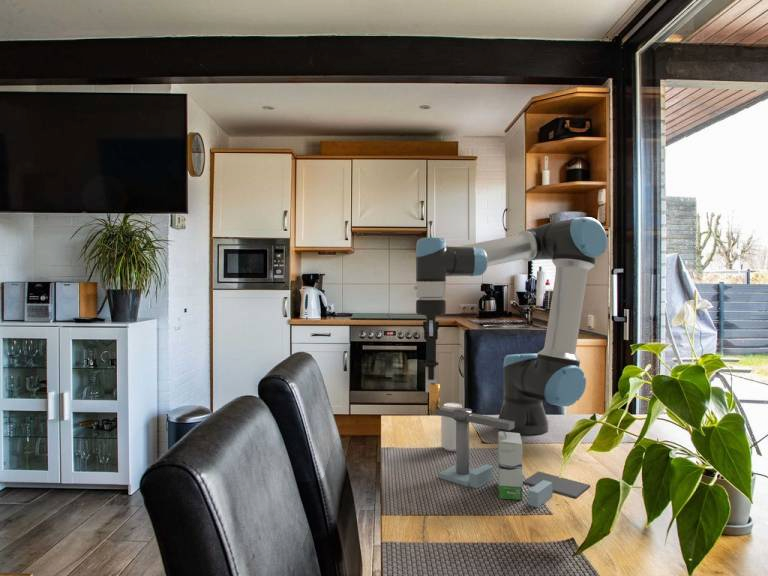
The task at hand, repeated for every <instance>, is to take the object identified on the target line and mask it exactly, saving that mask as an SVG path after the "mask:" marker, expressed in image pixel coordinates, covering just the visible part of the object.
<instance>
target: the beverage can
mask: <svg viewBox="0 0 768 576" xmlns="http://www.w3.org/2000/svg"><path fill="white" fill-rule="evenodd" d="M462 406H463V404H461V403H458V402H447V403H444V404H443V407H442V408H447V409H452V410H453V409H455V408H463V407H462ZM440 420H441V421H440V422H441V425H440V429H441V430H440V432H441V437H440V438H441V440H440V442H441V447H442V448H443V449H444V450H445V451H449V452H456V420H454V419H453V418H450V417H445V416H441V418H440Z"/></svg>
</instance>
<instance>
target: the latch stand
mask: <svg viewBox="0 0 768 576" xmlns="http://www.w3.org/2000/svg"><path fill="white" fill-rule="evenodd" d="M455 461H456V463H455V464H454V465H453V466H451V467H448V468H447V469H444V470H442V471H440V472H438V476H437V477H438V478H439V479H442V480H445V481H448V482H452V483H454V484H457V485H460V486H465V487H468V488H469V487H471V488H474V489H479V488H481V487H482V486H484V485H486V484H488V483H490V482H491V481H493V480H494V465H490V464H487V463H486V464H483V465H481V466H480V467H477V468H474V467H470V422H467V421H456V451H455ZM553 496H554V492H553V482H549V481H545V480H543V481H541V482H540V483H538V484H537V485H535V486H531V488H529V489H528V499H527V500H528V506H531V507H534V508H540V507H541V506H542V505H544V504H545V503H546V502H547V501H549V500H550V499H551V498H553Z"/></svg>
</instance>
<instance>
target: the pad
mask: <svg viewBox="0 0 768 576" xmlns="http://www.w3.org/2000/svg"><path fill="white" fill-rule="evenodd" d="M559 477H561V478H559ZM543 480H545V481H549V482H553V493H557V494H560V495H563V496H566V497H570V498H574V499H578V497H579V496H581V495H582V494H584V492H586V491H588V489H590V488H591V485H590V484H589V483H588V484H587V483H584V482H579V481H577V480H573V479H569V478H565V477H563V476H558V475H554V474H550V473H546V472H543V471H536V472H535V473H533V474H532V475H530V476H529V477H527V478H526V479H524V480H522V484H525V485H527V486H531V487H534V486H535V485H537V484H538V483H540V482H541V481H543Z"/></svg>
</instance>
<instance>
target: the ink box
mask: <svg viewBox="0 0 768 576" xmlns="http://www.w3.org/2000/svg"><path fill="white" fill-rule="evenodd" d="M497 439H498V440H497V445H498V446H497V488H498V489H497V490H498V497H499V499H502V500H503V499H504V500H505V499H506V500H519V501H520V500H521V501H522V500H523V441H522V437H521V434H520V433H512V432H507V431H498V433H497Z"/></svg>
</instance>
